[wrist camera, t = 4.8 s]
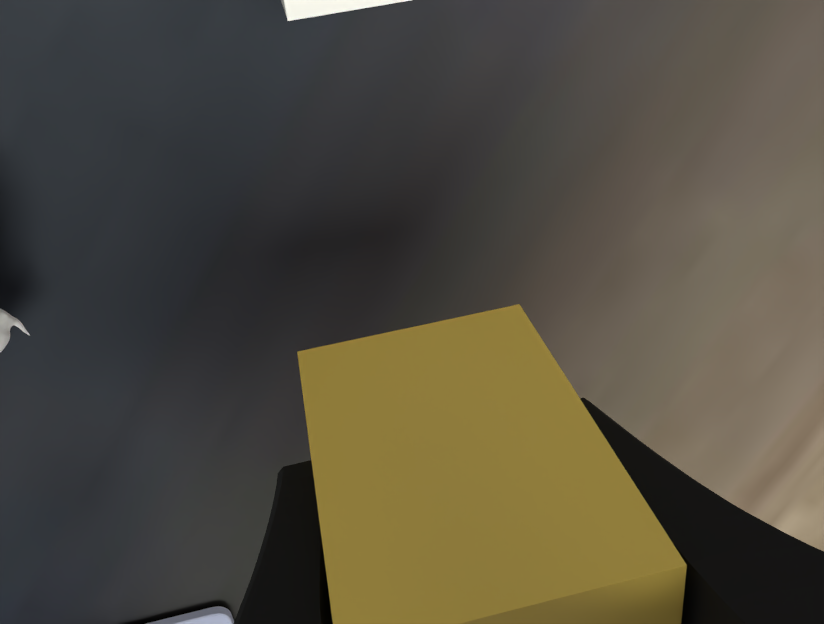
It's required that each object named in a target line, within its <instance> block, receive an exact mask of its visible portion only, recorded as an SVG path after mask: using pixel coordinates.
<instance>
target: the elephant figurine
mask: <svg viewBox="0 0 824 624" xmlns="http://www.w3.org/2000/svg"><path fill="white" fill-rule="evenodd" d="M13 325H14V326H17V327H18V328H20V329H21V330H22V331H23V332H24V333H26V334H28V335H29V333H28V332H27V330H26V329H25V327H24V326H23V324H22V323H21V322H20V321H19V320H18V319H17V318H15V317H13V316H11V315H10V314H9V313H7V312H6V311H4V310H2V309H0V353H1V351H2V350H3V349H4V348H5V346H6V345H7V344H8V342H9V340H10V328H11V327H12V326H13ZM29 336H30V335H29Z"/></svg>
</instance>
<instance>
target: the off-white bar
mask: <svg viewBox="0 0 824 624" xmlns="http://www.w3.org/2000/svg"><path fill="white" fill-rule="evenodd" d="M404 1H410V0H281V2H282V5H283V8H284V11H285V14H286V17H287V20H288V21H291V20H297V19H303V18H309V17H315V16H321V15H327V14H333V13H339V12H344V11H350V10H356V9H362V8H368V7H374V6H380V5H386V4H392V3H398V2H404Z"/></svg>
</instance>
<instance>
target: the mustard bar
mask: <svg viewBox="0 0 824 624" xmlns="http://www.w3.org/2000/svg"><path fill="white" fill-rule="evenodd" d="M297 353H298V361H299V369H300V376H301V384H302V392H303V399H304V407H305V415H306V422H307V430H308V438H309V445H310V453H311V460H312V468H313V476H314V483H315V491H316V499H317V506H318V514H319V522H320V529H321V537H322V545H323V552H324V560H325V567H326V575H327V583H328V590H329V598H330V606H331V613H332V621H333V624H681V620H682V610H683V600H684V589H685V579H686V569H687V565H686V563H685V562H684V560H683V558H682V557H681V555H680V554H679V552H678V551H677V549H676V548H675V546H674V544H673V543H672V541H671V540H670V538H669V537H668V535H667V533H666V532H665V530H664V529H663V527H662V526H661V524H660V523H659V521H658V519H657V518H656V516H655V515H654V513H653V512H652V510H651V509H650V507H649V505H648V504H647V502H646V501H645V499H644V498H643V496H642V495H641V493H640V491H639V490H638V488H637V487H636V485H635V484H634V482H633V481H632V479H631V477H630V476H629V474H628V473H627V471H626V470H625V468H624V466H623V465H622V463H621V462H620V460H619V459H618V457H617V456H616V454H615V452H614V451H613V449H612V448H611V446H610V445H609V443H608V442H607V440H606V438H605V437H604V435H603V434H602V432H601V431H600V429H599V428H598V426H597V424H596V423H595V421H594V420H593V418H592V417H591V415H590V414H589V412H588V410H587V409H586V407H585V406H584V404H583V403H582V401H581V400H580V398H579V396H578V395H577V393H576V392H575V390H574V389H573V387H572V385H571V384H570V382H569V381H568V379H567V378H566V376H565V375H564V373H563V371H562V370H561V368H560V367H559V365H558V364H557V362H556V361H555V359H554V357H553V356H552V354H551V353H550V351H549V350H548V348H547V347H546V345H545V343H544V342H543V340H542V339H541V337H540V336H539V334H538V333H537V331H536V329H535V328H534V326H533V325H532V323H531V322H530V320H529V319H528V317H527V315H526V314H525V312H524V311H523V309H522V308H521V306H520V304H518V305H513V306H509V307H504V308H499V309H495V310H490V311H485V312H481V313H476V314H471V315H467V316H462V317H457V318H453V319H448V320H443V321H439V322H434V323H429V324H424V325H420V326H415V327H410V328H406V329H401V330H396V331H392V332H387V333H382V334H378V335H373V336H368V337H364V338H359V339H354V340H350V341H345V342H340V343H335V344H331V345H326V346H321V347H317V348H312V349H307V350H303V351H298V352H297Z"/></svg>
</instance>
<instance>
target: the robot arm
mask: <svg viewBox="0 0 824 624" xmlns="http://www.w3.org/2000/svg"><path fill="white" fill-rule="evenodd" d="M580 400H581V401H582V403H583V404H584V406H585V407H586V409H587V410H588V412H589V414H590V415H591V417H592V418H593V420H594V421H595V423H596V424H597V426H598V428H599V429H600V431H601V432H602V434H603V435H604V437H605V438H606V440H607V442H608V443H609V445H610V446H611V448H612V449H613V451H614V452H615V454H616V456H617V457H618V459H619V460H620V462H621V463H622V465H623V466H624V468H625V470H626V471H627V473H628V474H629V476H630V477H631V479H632V481H633V482H634V484H635V485H636V487H637V488H638V490H639V491H640V493H641V495H642V496H643V498H644V499H645V501H646V502H647V504H648V505H649V507H650V509H651V510H652V512H653V513H654V515H655V516H656V518H657V519H658V521H659V523H660V524H661V526H662V527H663V529H664V530H665V532H666V533H667V535H668V537H669V538H670V540H671V541H672V543H673V544H674V546H675V548H676V549H677V551H678V552H679V554H680V555H681V557H682V558H683V560H684V562H685V563H686V565H687V569H686V579H685V589H684V600H683V610H682V620H681V624H824V552H823V551H821V550H819V549H817V548H815V547H812V546H810V545H808V544H806V543H804V542H802V541H800V540H798V539H796V538H794V537H792V536H790V535H788V534H786V533H784V532H782V531H780V530H778V529H776V528H775V527H773V526H771V525H769V524H767V523H765V522H763V521H762V520H760V519H758V518H756V517H754V516H752V515H750V514H749V513H747V512H745V511H743V510H742V509H740V508H738V507H736V506H735V505H733V504H731V503H730V502H728V501H726V500H725V499H723V498H722V497H720V496H719V495H717V494H715V493H714V492H712V491H711V490H709V489H708V488H706V487H704V486H703V485H701V484H700V483H698V482H697V481H695V480H694V479H692V478H691V477H689V476H688V475H686V474H685V473H684V472H682V471H681V470H679V469H678V468H677V467H675V466H674V465H672V464H671V463H670V462H668V461H667V460H665V459H664V458H662V457H661V456H660V455H658V454H657V453H655V452H654V451H653V450H651V449H650V448H649V447H647V446H646V445H645V444H643V443H642V442H641V441H639V440H638V439H637V438H635V437H634V436H633V435H632V434H630V433H629V432H628V431H626V430H625V429H624V428H622V427H621V426H620V425H619V424H617V423H616V422H615V421H613V420H612V419H611V418H610V417H608V416H607V415H606V414H605V413H603V412H602V411H601V410H600V409H598V408H597V407H596V406H594V405H593V404H592V403H591V402H589V401H588V400H586V399H585V398H581V399H580ZM146 624H333V621H332V613H331V606H330V598H329V590H328V583H327V575H326V567H325V560H324V552H323V545H322V537H321V529H320V522H319V514H318V506H317V499H316V491H315V483H314V476H313V468H312V460H311V461H306V462H302V463H298V464H293V465H289V466H285V467H283V468H282V469H281V470H280V472H279V473H278V478H277V486H276V491H275V497H274V502H273V506H272V510H271V514H270V518H269V522H268V526H267V530H266V533H265V537H264V540H263V543H262V546H261V550H260V553H259V556H258V559H257V562H256V566H255V569H254V572H253V575H252V577H251V580H250V583H249V585H248V588H247V591H246V593H245V596H244V598H243V601H242V604H241V606H240V609H239V611H238V614H237V617H236V619H235V622H234V620H233V617H232V615H231V612H230V611H229V610H228V609H227V608H225V607H221V606H216V607H211V608H207V609H202V610H198V611H194V612H190V613H186V614H182V615H178V616H174V617H170V618H166V619H162V620H158V621H154V622H150V623H146Z"/></svg>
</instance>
